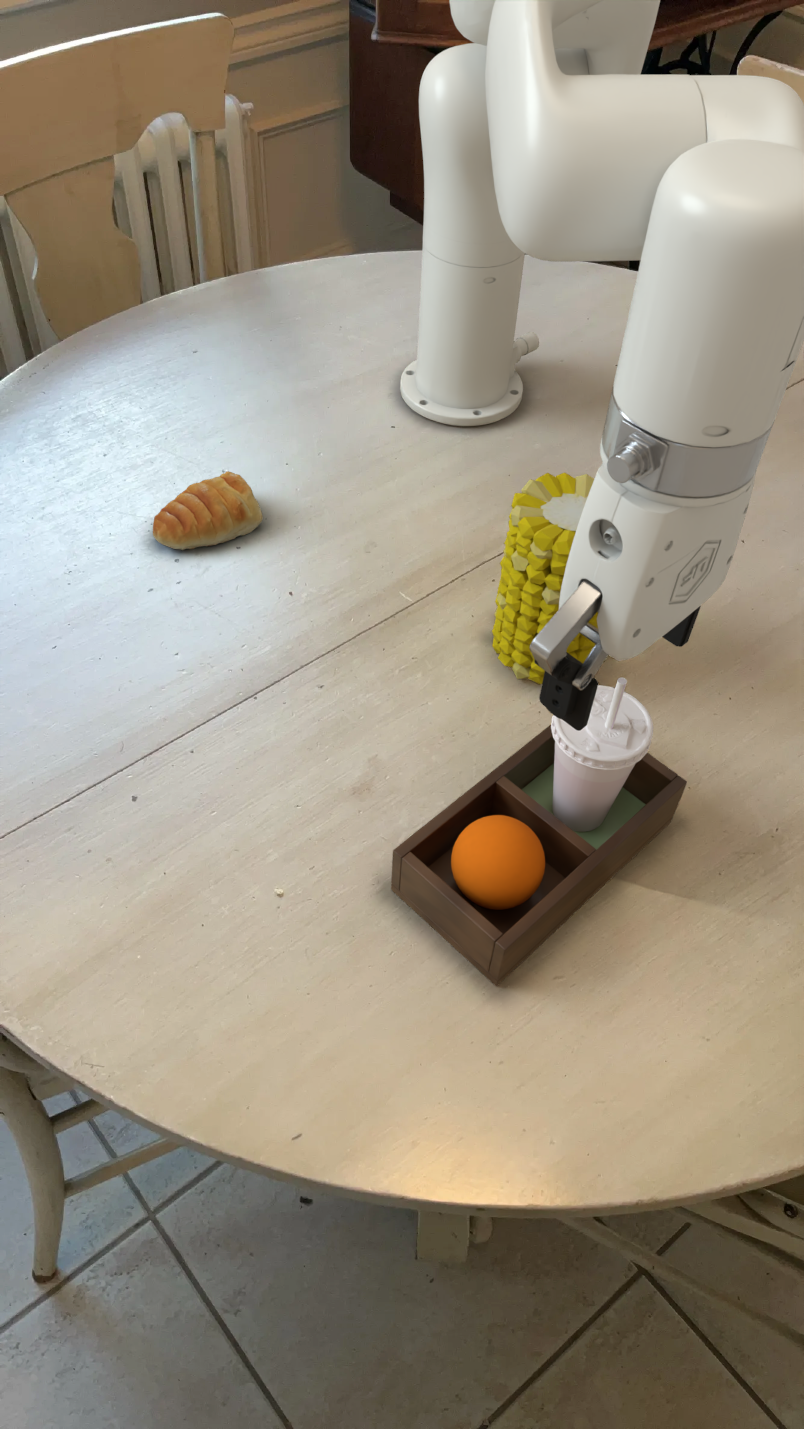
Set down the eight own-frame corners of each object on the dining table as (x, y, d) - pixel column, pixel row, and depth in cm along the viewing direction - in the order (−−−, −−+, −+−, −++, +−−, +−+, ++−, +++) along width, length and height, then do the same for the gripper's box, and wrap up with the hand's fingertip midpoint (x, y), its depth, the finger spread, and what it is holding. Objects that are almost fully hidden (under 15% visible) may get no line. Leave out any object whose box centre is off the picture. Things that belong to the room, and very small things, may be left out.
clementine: (490, 833, 72) (499, 780, 68) (557, 888, 70) (571, 838, 65) (429, 884, 69) (434, 833, 65) (496, 944, 67) (506, 895, 62)
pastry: (178, 568, 90) (172, 533, 87) (138, 528, 93) (131, 493, 90) (270, 526, 94) (267, 491, 91) (228, 489, 97) (224, 454, 94)
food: (483, 693, 84) (511, 614, 90) (632, 706, 80) (650, 622, 87) (457, 533, 74) (491, 457, 80) (627, 538, 70) (648, 458, 76)
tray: (390, 889, 70) (392, 850, 66) (567, 744, 79) (578, 702, 75) (496, 987, 66) (504, 950, 62) (671, 822, 74) (688, 781, 71)
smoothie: (565, 862, 71) (603, 729, 60) (515, 792, 74) (543, 656, 64) (642, 827, 73) (692, 693, 62) (590, 761, 76) (629, 624, 66)
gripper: (634, 554, 44) (569, 789, 58) (847, 398, 52) (748, 636, 66) (503, 471, 48) (470, 711, 61) (723, 336, 56) (651, 574, 69)
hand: (614, 672), depth 63 cm, fingers open, 9 cm apart
